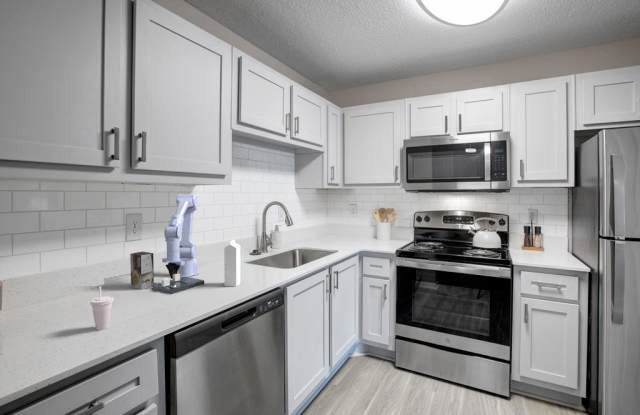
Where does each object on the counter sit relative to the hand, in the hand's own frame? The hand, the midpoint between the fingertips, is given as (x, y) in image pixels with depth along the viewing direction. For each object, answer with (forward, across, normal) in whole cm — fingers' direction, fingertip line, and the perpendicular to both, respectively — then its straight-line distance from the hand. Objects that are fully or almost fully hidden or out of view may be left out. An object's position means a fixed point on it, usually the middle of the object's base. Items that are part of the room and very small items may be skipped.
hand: (173, 278), depth 158 cm
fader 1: (+1, +6, -8) cm, 10 cm away
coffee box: (+3, -9, -10) cm, 14 cm away
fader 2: (+1, +2, 0) cm, 2 cm away
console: (+3, +6, -1) cm, 6 cm away
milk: (+3, +24, +15) cm, 29 cm away
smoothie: (+3, +25, -44) cm, 50 cm away
